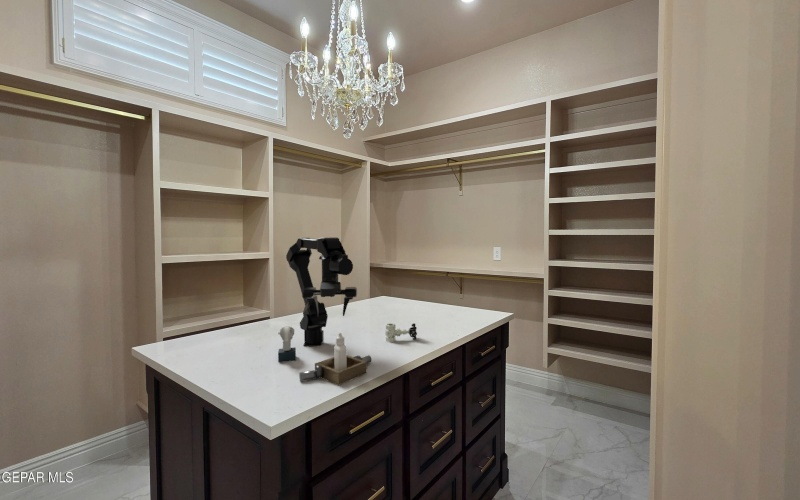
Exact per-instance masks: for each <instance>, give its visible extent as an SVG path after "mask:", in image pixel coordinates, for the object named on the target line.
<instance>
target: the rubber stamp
mask: <svg viewBox="0 0 800 500" xmlns="http://www.w3.org/2000/svg"><path fill="white" fill-rule="evenodd" d="M278 335H279V336H280V337H281V340H282V348H278V352H277V353H278V355H277V359H278V360H277V362H278V363H284V362H285V363H286V362H292V361H293V362H294V361H295V362H296V361H297V359H296V358H297V357H296V356H297V353H296V350H297V348H296V347H291V346H292V345H291V344H292V343H291V342H292V340H293V338H294V335H295V329H294V327H292V326H288V325H287V326H283V327H281V328H280V330H279V332H278ZM278 335H277V336H278Z"/></svg>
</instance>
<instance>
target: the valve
mask: <svg viewBox="0 0 800 500" xmlns="http://www.w3.org/2000/svg"><path fill="white" fill-rule="evenodd" d="M407 334H408V335H409V336H410V338H412V341H413V340H414V341H415V340H417V336H418V332H417V326H416V323H411V326H410V327H409V328H408V330H407V329H402V330H401V328H396V324H395V323H386V324H385V336H386V337H385V342H387V343H394V342H396V336H397V337H401V335H403V336H404V335H407Z"/></svg>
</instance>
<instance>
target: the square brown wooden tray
mask: <svg viewBox="0 0 800 500" xmlns="http://www.w3.org/2000/svg"><path fill="white" fill-rule="evenodd" d="M354 357H355V356H351V355H347V368H345V369H343V370H340V371H337V370H335V368H334V356H333V357H330V358H327V359H324V360H321V361H318V362H315V363H314V367H315V366H318V365H321V366H322V371H323V377H322V378H321V379H323V380H326V381H327V382H330V383H332V384H335V385H337V386H340V385H343V384H344V383H347V382H349V381H352V380H354V379H356V378H359V377H361V376H363V375H365V374H367V373H368V372H367V365H368V364H367V362H366V361H363V360H360V359H357V358H354Z"/></svg>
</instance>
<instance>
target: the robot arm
mask: <svg viewBox="0 0 800 500" xmlns="http://www.w3.org/2000/svg"><path fill="white" fill-rule="evenodd" d="M312 250H316V251H317V253H320V254H321V255H320V256H319V257H318V259H319V260H321V283H320V286H319V289H317V288H316V287H314V284H313V282H312V280H313V279H312V278H311V274H310V271H309V265H310V262H311V261H310V258H311V256H312V254H313V253H312ZM285 258H286V261H287V262H288V265H289V267H290V269H292V271H294V272H295V274H296V278H297V281H298V285H299V288H300V293H301V297H302V299H303V302H304V307H303V308H304V309H303V311H302V315H303V317H302V319H301V320H300V321H299V326H300V329H301V330H303V332H304V334H303V335H304V337H303V338H304V339H303V340H304V343H303V346H304V347H311V346H312V347H316V346H317V347H318V346H322V344H323V343H324V341H325V338H324V337H325V335H324V330H323V328H326V326H327V324H328V323H327V322H328V318H329V317H328V316H329V315H328V313H327V312H328V311H327V310H326V309H327V308H326V306H325V303H324V302H320V301H319V300H318V296H320V297H321V298H325V297H327V298H328V297H329V298H333V297H335V296H337V295H339V296H341V295H344V297H343V306H342V307H343V309H342V317H344V316H345V314H346V312H347V307H348V304H349V302H350V300H353V298H356V297H357V295H358V288H357V287H356V286H346V287H345V288H344V289H342V283H341V281H339V275H341V276H349V275H350V274H351V273H352V272H353V269H354V264H353V262H352V260H351V259H350V258H349V255H348V254H346V250H345V248H344V246H343V244H342V241H341V240H340V238H339V237H331V236H330V237H319V238H310V237H299V238H298V239H297V241H296V242H295V243H294V244H292V245H291V246H290V247H289V248H288V250H287V253H286V257H285Z"/></svg>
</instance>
